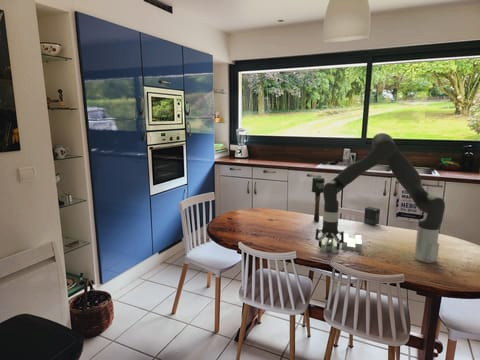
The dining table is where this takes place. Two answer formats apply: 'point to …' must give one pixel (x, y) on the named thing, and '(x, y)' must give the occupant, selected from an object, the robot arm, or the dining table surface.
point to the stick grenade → (317, 194)
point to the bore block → (352, 243)
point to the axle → (329, 244)
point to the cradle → (334, 247)
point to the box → (371, 215)
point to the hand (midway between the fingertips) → (328, 248)
